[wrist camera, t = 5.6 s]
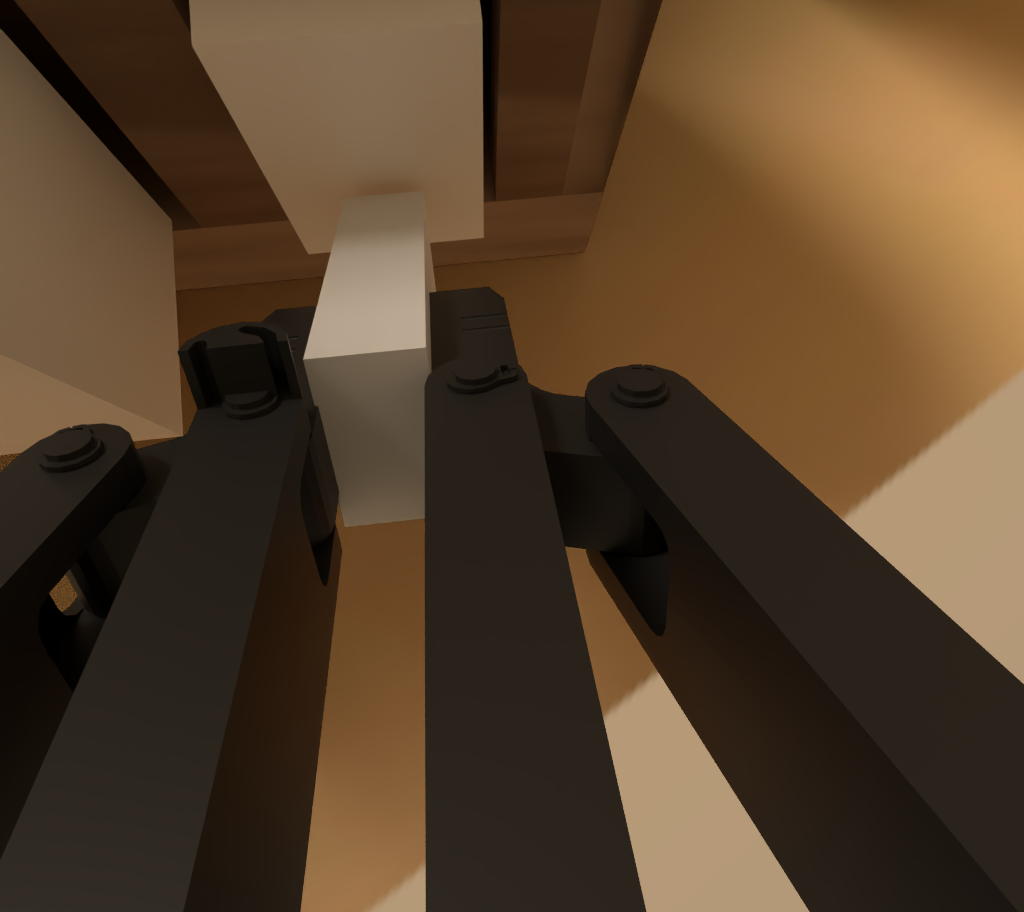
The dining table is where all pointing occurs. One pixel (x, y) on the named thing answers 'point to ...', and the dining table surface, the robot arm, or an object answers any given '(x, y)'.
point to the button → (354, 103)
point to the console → (240, 181)
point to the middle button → (78, 277)
